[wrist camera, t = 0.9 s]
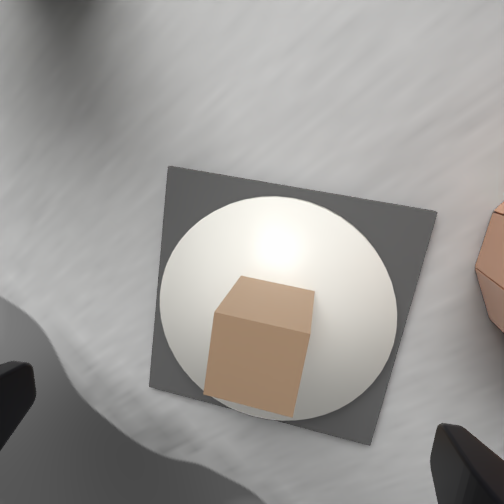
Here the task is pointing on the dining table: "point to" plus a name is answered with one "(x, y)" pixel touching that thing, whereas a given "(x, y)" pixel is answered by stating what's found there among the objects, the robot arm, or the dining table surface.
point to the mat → (350, 208)
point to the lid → (278, 308)
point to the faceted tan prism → (493, 268)
